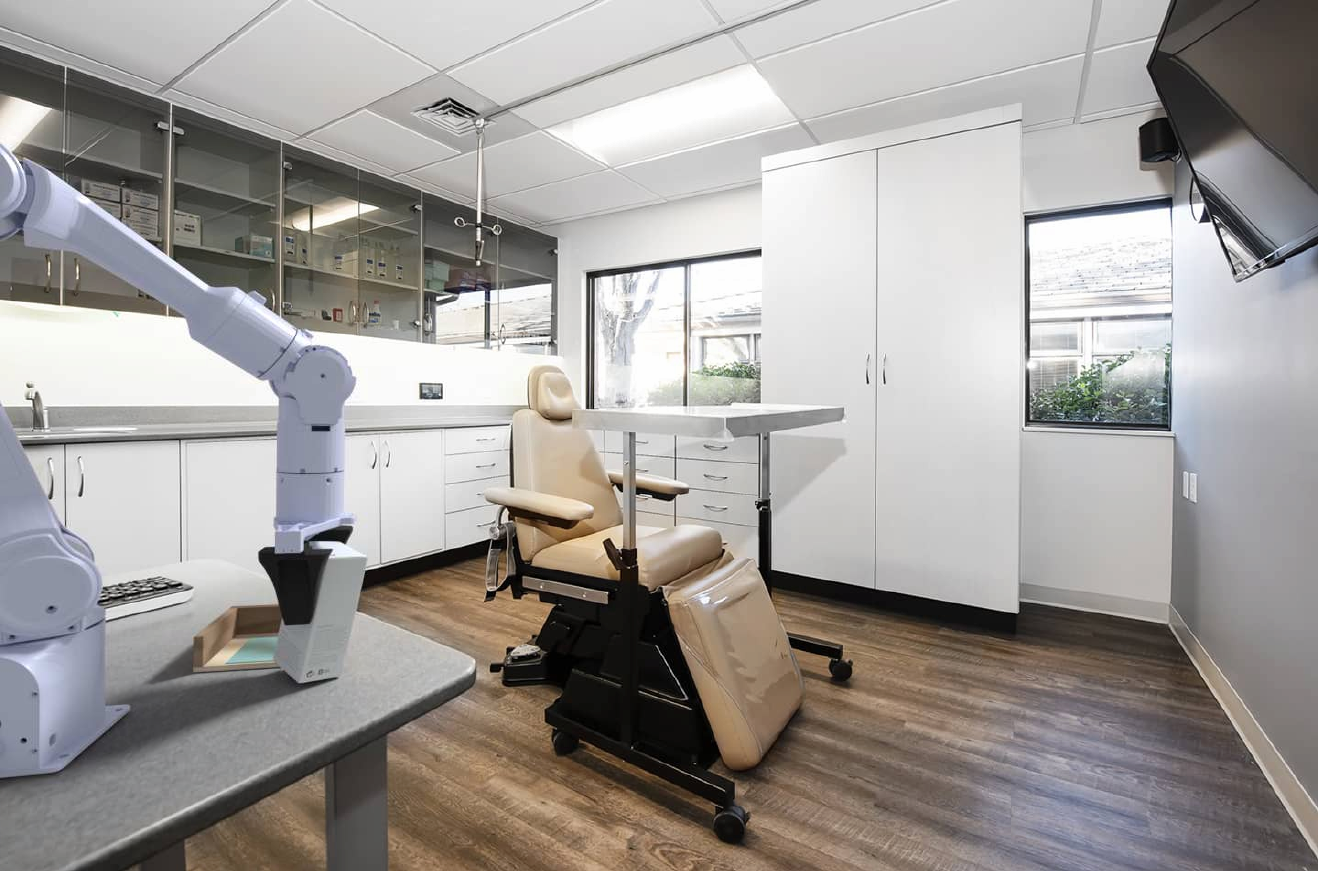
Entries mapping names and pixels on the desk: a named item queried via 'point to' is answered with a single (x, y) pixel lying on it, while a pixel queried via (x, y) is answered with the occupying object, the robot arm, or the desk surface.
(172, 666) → the desk surface
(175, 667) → the desk surface
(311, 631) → the skincare box
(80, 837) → the desk surface
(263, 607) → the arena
